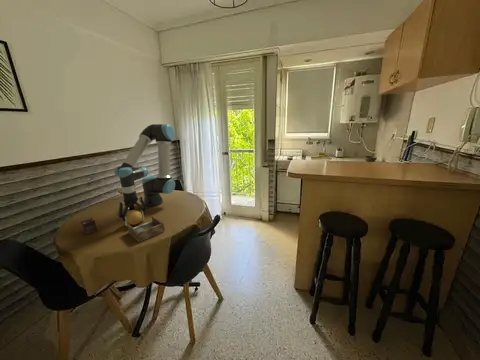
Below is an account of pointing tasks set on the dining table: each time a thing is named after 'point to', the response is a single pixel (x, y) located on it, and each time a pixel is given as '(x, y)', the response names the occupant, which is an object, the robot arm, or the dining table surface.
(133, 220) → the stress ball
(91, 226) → the box
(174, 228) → the dining table surface
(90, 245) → the dining table surface
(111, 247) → the dining table surface
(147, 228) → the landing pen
